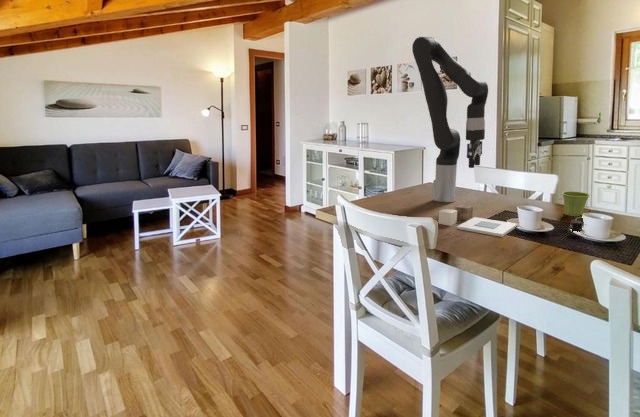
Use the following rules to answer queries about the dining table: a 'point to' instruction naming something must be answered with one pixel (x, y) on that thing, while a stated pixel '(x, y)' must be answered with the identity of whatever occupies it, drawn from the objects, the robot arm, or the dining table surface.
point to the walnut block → (464, 212)
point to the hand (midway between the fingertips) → (474, 166)
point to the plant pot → (574, 203)
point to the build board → (487, 226)
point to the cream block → (447, 217)
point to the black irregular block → (576, 225)
